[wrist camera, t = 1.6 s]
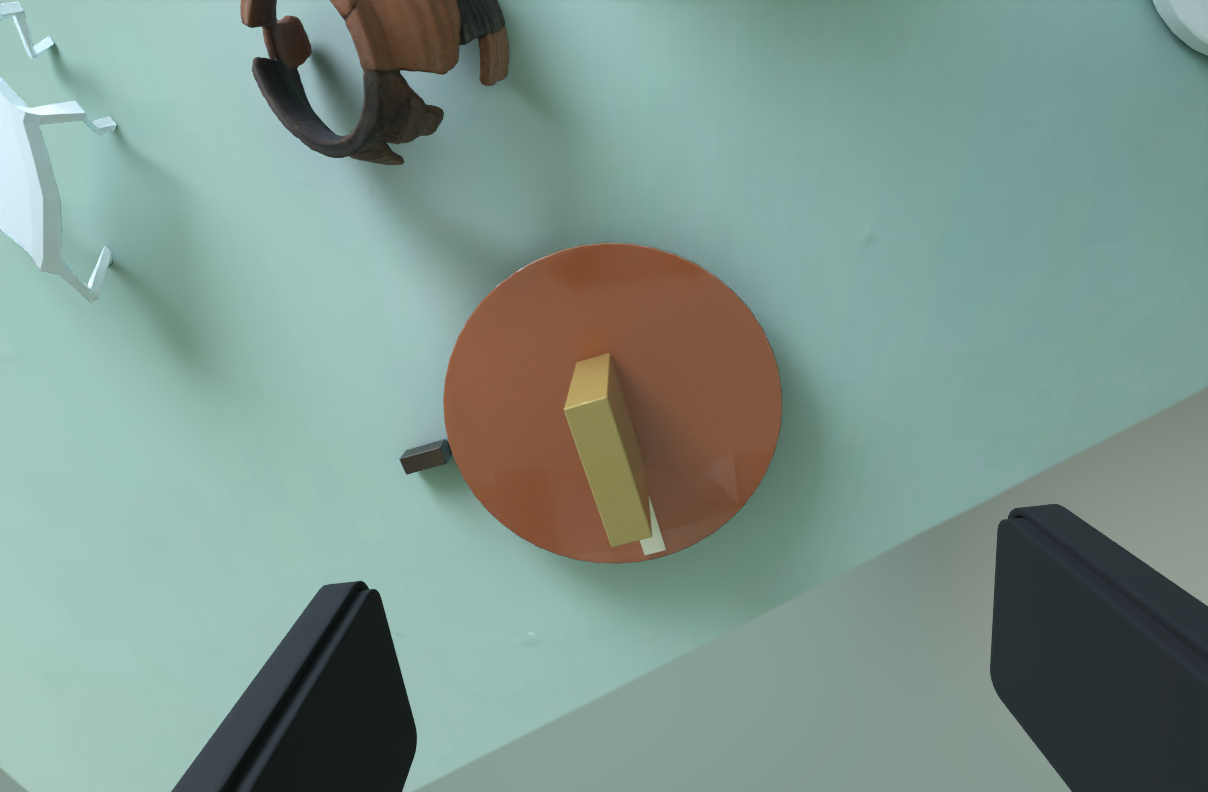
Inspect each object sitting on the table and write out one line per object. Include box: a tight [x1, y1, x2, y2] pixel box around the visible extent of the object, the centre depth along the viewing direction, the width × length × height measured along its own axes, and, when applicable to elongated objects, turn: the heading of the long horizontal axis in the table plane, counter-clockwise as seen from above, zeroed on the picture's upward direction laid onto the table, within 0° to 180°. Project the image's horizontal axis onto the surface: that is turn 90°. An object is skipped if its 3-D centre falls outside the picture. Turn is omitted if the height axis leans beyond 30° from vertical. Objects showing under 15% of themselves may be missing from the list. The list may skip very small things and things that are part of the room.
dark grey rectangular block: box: [400, 440, 452, 474], centre depth 35 cm, size 17×10×2 cm, turn 107°
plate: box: [443, 242, 782, 563], centre depth 30 cm, size 17×17×8 cm
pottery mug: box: [240, 0, 509, 165], centre depth 27 cm, size 12×10×8 cm
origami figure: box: [0, 1, 116, 303], centre depth 30 cm, size 12×8×5 cm
